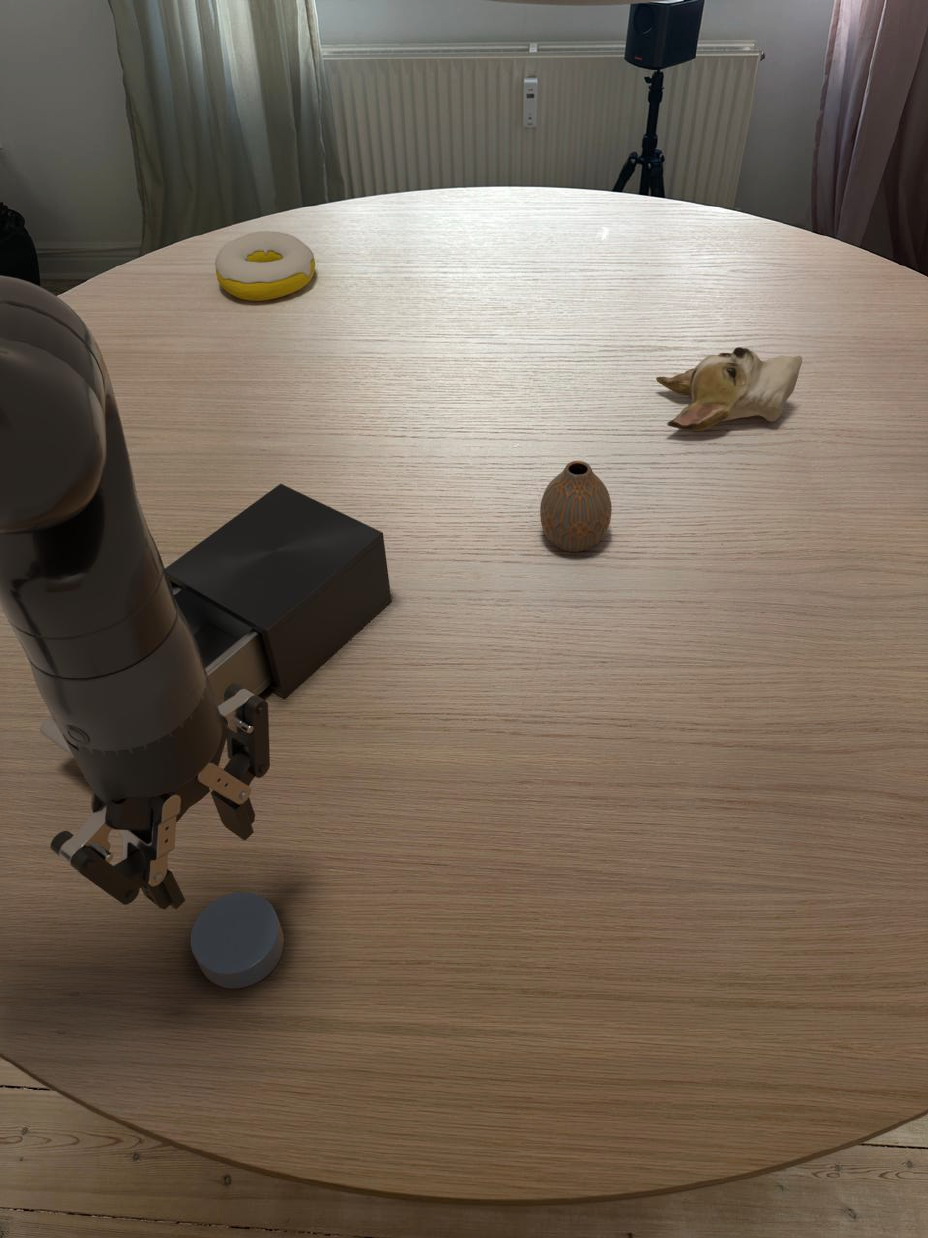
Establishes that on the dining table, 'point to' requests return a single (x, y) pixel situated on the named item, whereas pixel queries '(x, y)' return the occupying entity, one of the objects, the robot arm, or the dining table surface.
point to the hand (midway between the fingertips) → (204, 863)
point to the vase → (575, 508)
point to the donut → (264, 265)
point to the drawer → (212, 653)
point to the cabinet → (291, 579)
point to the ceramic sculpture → (733, 388)
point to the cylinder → (237, 940)
